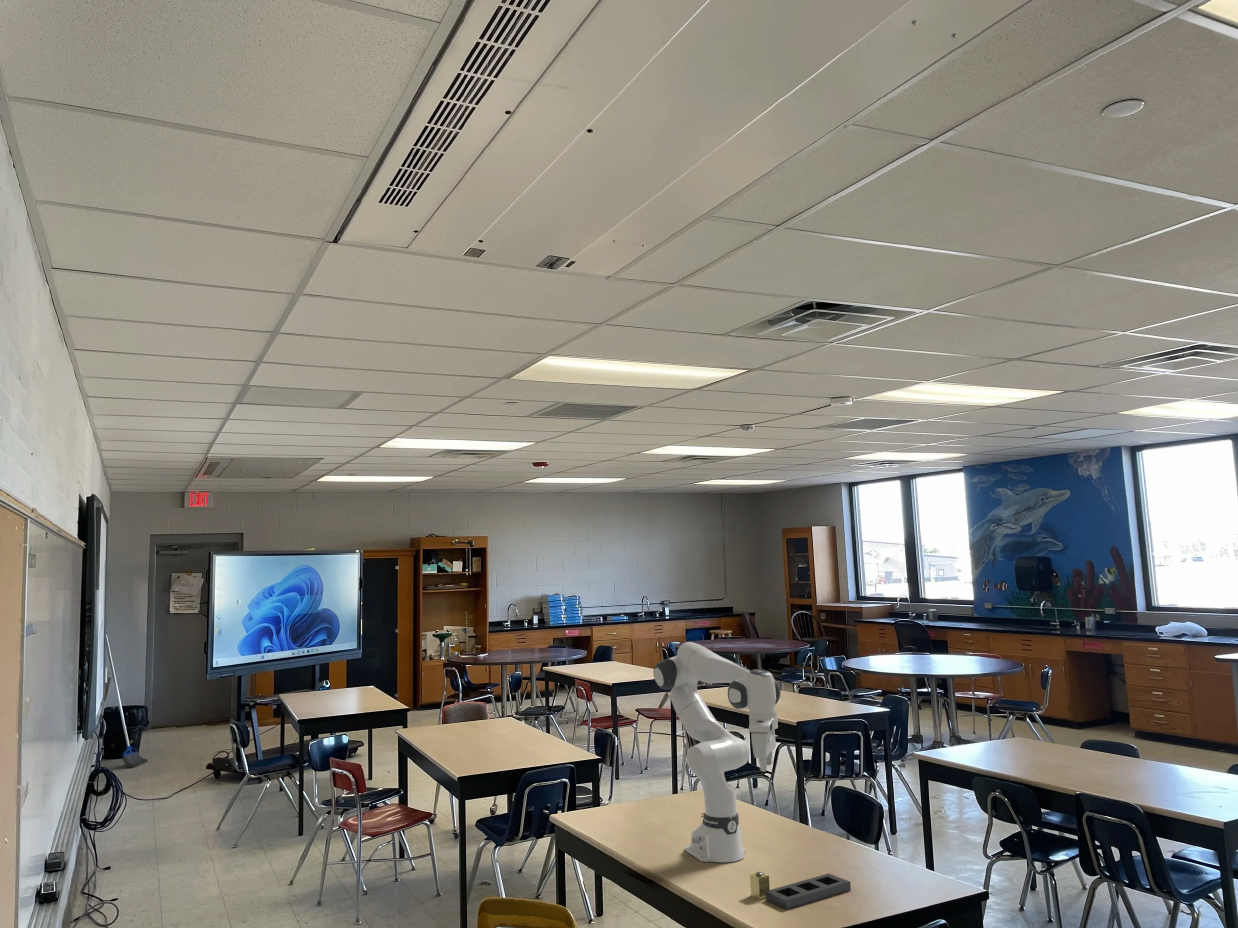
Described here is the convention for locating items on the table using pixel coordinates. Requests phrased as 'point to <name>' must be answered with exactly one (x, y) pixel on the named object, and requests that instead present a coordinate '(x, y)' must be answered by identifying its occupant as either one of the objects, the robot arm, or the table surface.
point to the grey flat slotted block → (807, 891)
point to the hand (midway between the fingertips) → (766, 767)
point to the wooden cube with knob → (759, 885)
